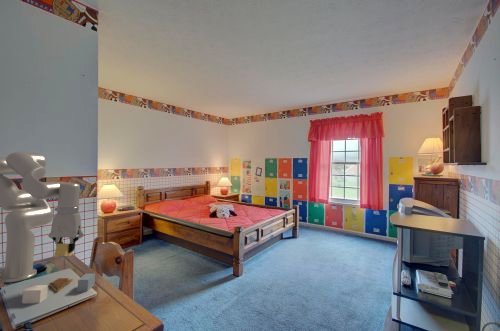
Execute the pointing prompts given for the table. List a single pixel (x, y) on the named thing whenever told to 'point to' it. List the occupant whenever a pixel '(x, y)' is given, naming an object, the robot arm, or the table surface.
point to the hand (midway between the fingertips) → (65, 251)
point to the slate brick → (86, 282)
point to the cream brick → (35, 294)
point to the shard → (60, 283)
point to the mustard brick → (62, 250)
